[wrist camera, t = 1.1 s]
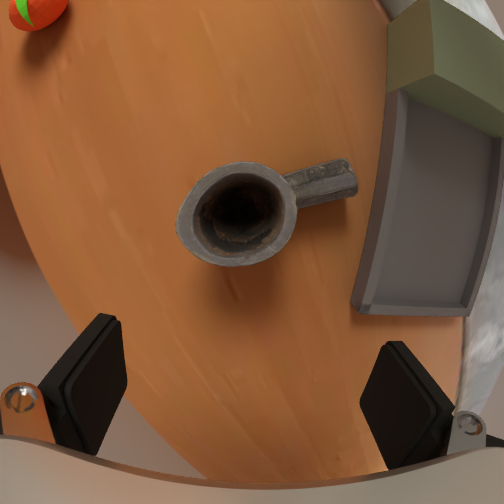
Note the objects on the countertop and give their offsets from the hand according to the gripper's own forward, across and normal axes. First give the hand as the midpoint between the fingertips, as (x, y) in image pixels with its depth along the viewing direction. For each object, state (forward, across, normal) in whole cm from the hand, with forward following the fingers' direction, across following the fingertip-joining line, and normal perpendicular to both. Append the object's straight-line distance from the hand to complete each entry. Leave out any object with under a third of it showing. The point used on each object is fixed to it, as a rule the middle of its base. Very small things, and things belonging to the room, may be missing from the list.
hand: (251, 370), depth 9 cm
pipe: (+17, -1, -5) cm, 18 cm away
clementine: (+16, +24, -24) cm, 37 cm away
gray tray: (+16, -18, -6) cm, 25 cm away
